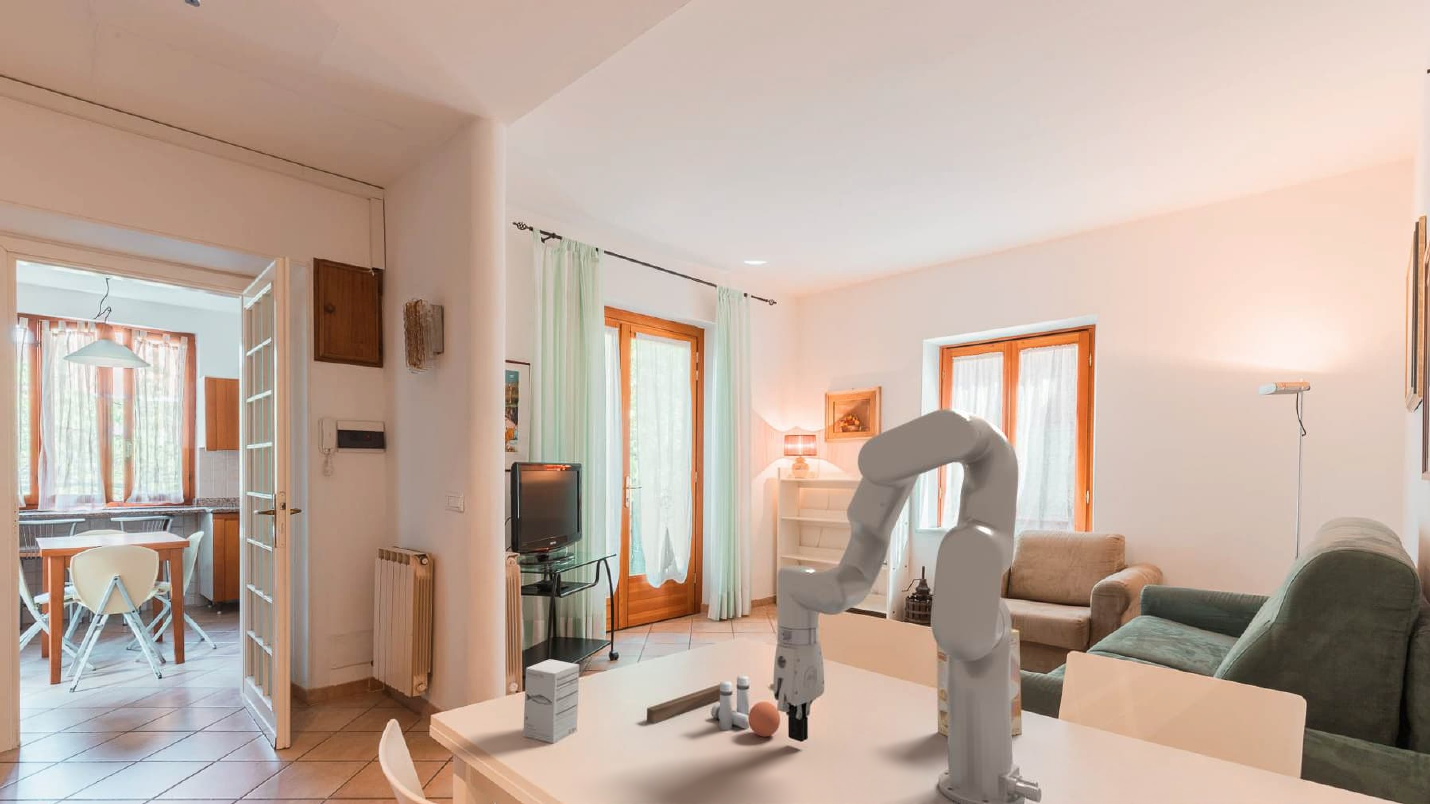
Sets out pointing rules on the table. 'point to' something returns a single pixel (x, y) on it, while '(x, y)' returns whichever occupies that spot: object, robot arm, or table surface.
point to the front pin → (737, 717)
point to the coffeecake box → (1015, 687)
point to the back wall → (683, 704)
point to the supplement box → (551, 700)
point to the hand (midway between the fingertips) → (798, 738)
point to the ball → (764, 719)
